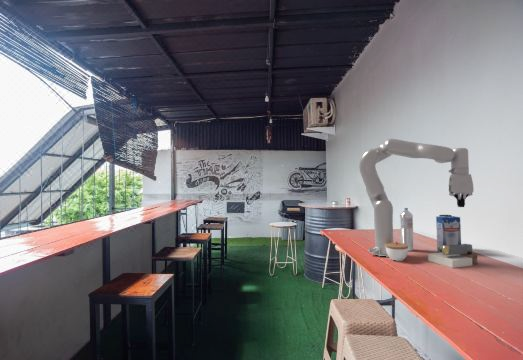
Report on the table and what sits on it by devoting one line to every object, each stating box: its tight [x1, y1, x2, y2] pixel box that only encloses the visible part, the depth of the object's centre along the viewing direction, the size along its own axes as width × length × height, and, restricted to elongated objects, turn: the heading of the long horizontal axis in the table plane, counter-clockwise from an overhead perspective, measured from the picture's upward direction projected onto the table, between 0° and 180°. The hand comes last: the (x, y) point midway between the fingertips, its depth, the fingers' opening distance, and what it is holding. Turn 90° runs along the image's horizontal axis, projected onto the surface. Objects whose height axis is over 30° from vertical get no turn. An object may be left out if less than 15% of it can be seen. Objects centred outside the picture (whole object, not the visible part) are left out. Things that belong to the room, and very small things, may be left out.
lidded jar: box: [385, 241, 409, 262], centre depth 152 cm, size 11×11×9 cm
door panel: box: [427, 252, 473, 269], centre depth 144 cm, size 12×14×4 cm
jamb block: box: [458, 252, 478, 266], centre depth 143 cm, size 4×6×5 cm, turn 15°
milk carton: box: [435, 215, 462, 253], centre depth 166 cm, size 10×6×20 cm, turn 88°
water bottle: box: [399, 207, 415, 252], centre depth 173 cm, size 7×7×25 cm
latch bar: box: [442, 243, 473, 255], centre depth 142 cm, size 16×4×4 cm, turn 100°
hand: (461, 206), depth 152 cm, fingers closed
